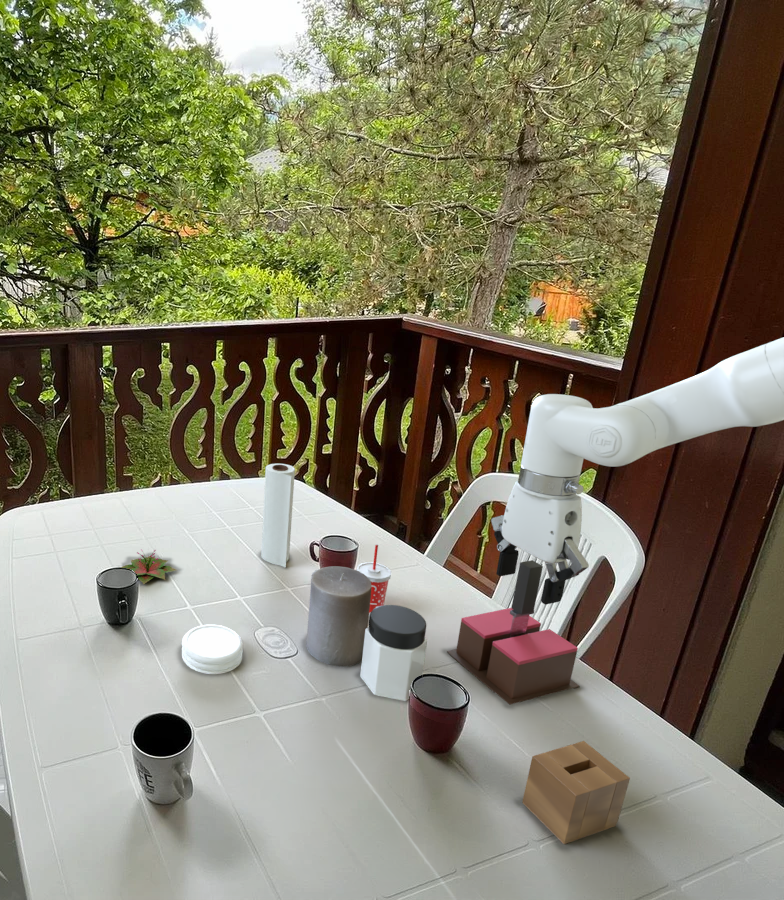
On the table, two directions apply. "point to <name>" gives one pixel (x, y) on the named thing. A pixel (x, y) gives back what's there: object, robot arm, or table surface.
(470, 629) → the cake
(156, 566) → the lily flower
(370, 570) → the beverage cup
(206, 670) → the coaster
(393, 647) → the jar
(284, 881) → the table surface
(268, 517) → the paper towel roll
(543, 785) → the knife block
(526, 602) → the knife
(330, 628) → the pillar candle
